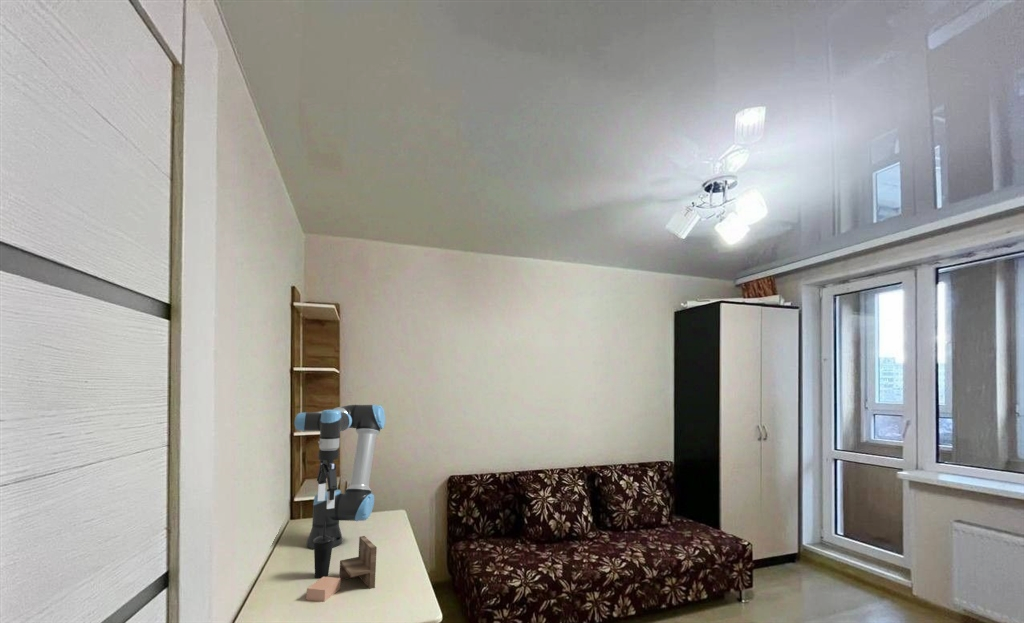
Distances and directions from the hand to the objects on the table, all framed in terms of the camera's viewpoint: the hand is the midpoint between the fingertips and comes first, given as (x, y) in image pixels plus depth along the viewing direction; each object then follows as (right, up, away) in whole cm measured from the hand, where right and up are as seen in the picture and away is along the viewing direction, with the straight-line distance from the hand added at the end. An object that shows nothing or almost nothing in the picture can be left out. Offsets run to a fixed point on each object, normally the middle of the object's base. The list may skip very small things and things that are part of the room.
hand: (325, 504), depth 188 cm
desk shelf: (+15, -26, -9) cm, 31 cm away
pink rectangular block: (+6, -25, -18) cm, 32 cm away
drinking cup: (0, -27, -3) cm, 27 cm away
